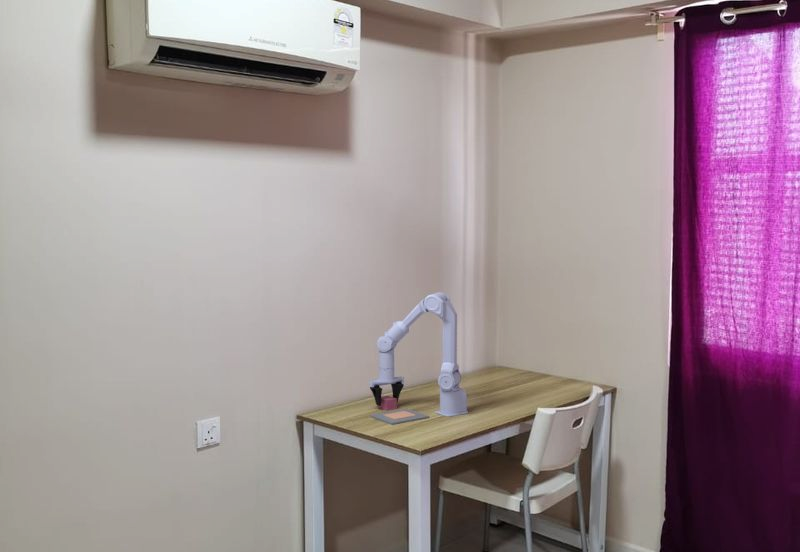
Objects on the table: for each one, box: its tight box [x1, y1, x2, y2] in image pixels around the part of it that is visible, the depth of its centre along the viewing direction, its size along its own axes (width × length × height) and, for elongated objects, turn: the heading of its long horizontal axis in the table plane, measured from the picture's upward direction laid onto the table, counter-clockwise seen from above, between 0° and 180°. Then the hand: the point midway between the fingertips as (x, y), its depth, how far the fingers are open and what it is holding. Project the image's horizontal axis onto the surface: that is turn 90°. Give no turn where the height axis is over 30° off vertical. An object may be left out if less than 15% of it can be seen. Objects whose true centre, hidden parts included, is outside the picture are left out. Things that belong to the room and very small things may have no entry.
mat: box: [369, 408, 430, 426], centre depth 285 cm, size 16×14×1 cm
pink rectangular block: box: [376, 395, 398, 412], centre depth 299 cm, size 4×6×4 cm
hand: (386, 403), depth 299 cm, fingers open, 7 cm apart
